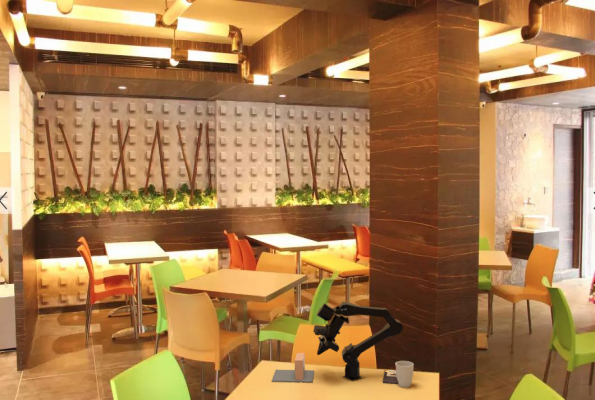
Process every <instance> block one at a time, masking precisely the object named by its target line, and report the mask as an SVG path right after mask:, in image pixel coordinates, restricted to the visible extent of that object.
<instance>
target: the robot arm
mask: <svg viewBox="0 0 595 400" xmlns="http://www.w3.org/2000/svg"><path fill="white" fill-rule="evenodd" d="M358 315H359V316H360V315H361V316H369V317H379V318H383V319H384V320H385V321H386V324H384V326H383V327H382V328H381V329H380V330H378V331H377V332H375V333H374V334H372V335H370V336H369V337H367V338H365V339H364V340H362V341H360V342H359V343H357V344H355V345H354V344H353V343H349V344H348V345H347V346H344V347H343V349H342V351H341V357H342V360H343V362H344V363H346V364H345V368H344V375H343V378H344V379H347V380H350V381H355V380H359V379H362V378H363V377H362V376H361V375H360V372H361V371H360V364H361V363H360V361H359V359H358V358H359V357H360V356H361V354H363V353H364V352H366V351H368V350H369V349H370V348H372V347H374V346H376V345H377V344H379V343H381V342H382V341H384V340H386V339H387V338H391V337H396V336H397V335H400V334H401V333H403V330H404V326H403V324H402V323H401V321H400V320H399V319H396V318H395V317H393V316H392V314H391V313H390V311H389V310H388V309H387V307H376V306H374V307H373V306H365V305H358V304H354V303H352V302H348V301H342V302H341V303H340V304H339V305H338V306H335V307H333V308H332V307H331V306H329V305H328V304H327V303H323V304H322V305H321V307H319V308H318V311H317V313H316V316H317V317H318V318H320V319H321V320H324V321H325V322H329V321H330V322H329V323H327V324H325V326H324V325H319V324H317V325H316V324H314V325H313V329H312V330H313V331H312V332H313V333H314V336H317V337H318V341H319V343H318V348H317V351H316V355H317V356H320V355H321V354H322V355H323V353H325V352H326V351H328V350H332V351H334V352H336V353H338V351H339V350H340V346H339V344H337V342H336V337H337V336H338V335H340V333H341V329H342V328H343V325H344V324H345V323H346V324H350V321H349V317H353V316H358Z"/></svg>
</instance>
